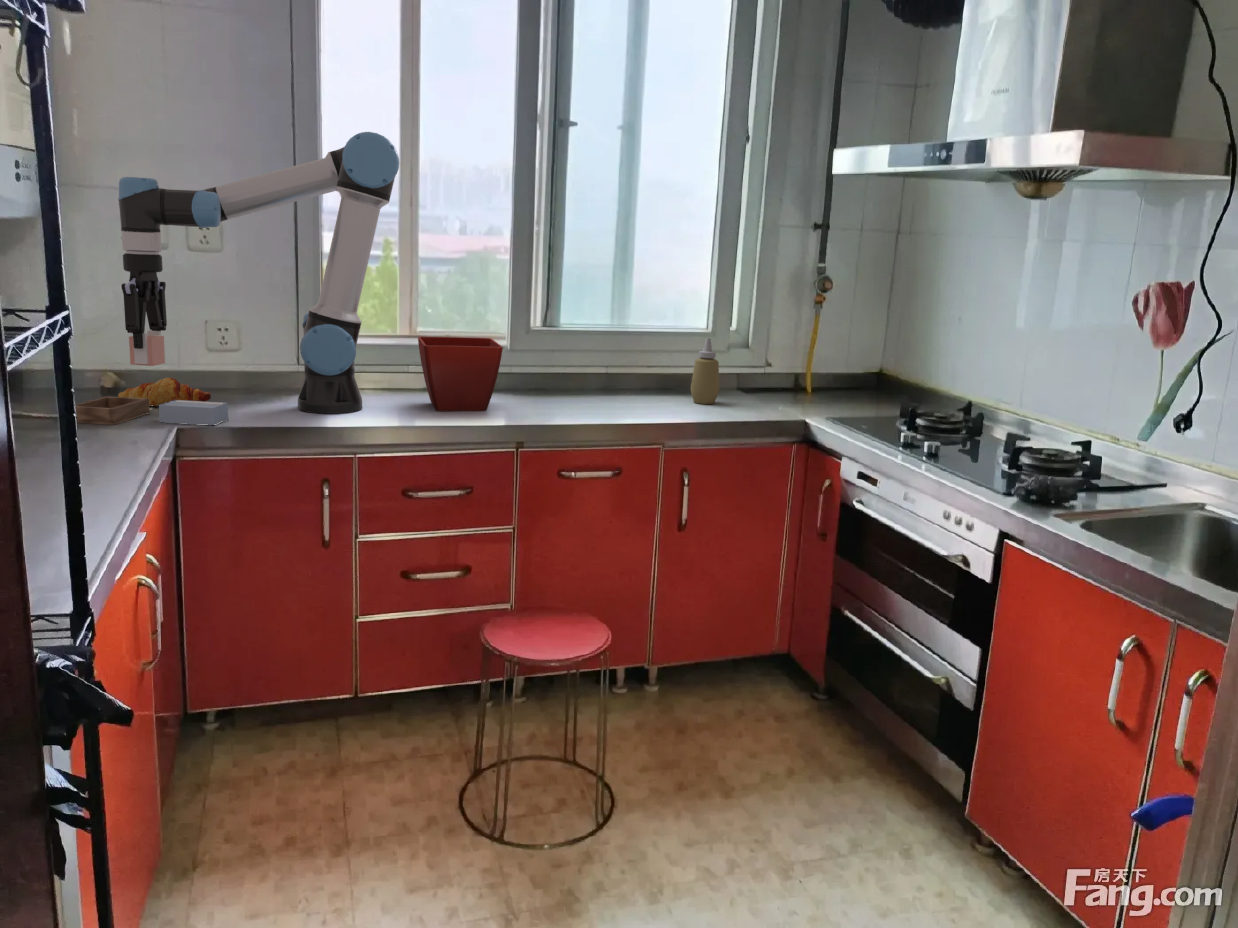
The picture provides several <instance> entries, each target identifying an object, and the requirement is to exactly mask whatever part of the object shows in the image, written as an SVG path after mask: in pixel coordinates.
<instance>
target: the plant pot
mask: <svg viewBox="0 0 1238 928" xmlns="http://www.w3.org/2000/svg"><path fill="white" fill-rule="evenodd" d="M417 342H418V343H417V344H418V349H419V357H420V358H419V359H420V363H421V369H422V373H423V377H424V383H425V386H426V390H427V394H428V396H429V400H430V403H431V405H432V407H433V408H434V410H435V411H437V412H438V411H439V412H485V411H487V410H488V407H489V405H490V402H491V399H492V397H493V392H494V390H495V386H496V383H497V379H498V375H499V370H500V366H501V365H500V364H501V361H502V355H503V351H504V350H503V349H504V348H503V346H502V345H501V344H500V343H498V342H497V341H495V340H494V339H493V338H490V337H489V338H488V337H458V336H457V337H456V336H418V337H417Z"/></svg>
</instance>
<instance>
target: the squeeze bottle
mask: <svg viewBox="0 0 1238 928" xmlns="http://www.w3.org/2000/svg"><path fill="white" fill-rule="evenodd" d="M711 340H712V339H711V338H705V342H704V346H703V348H702V350H699V351H698V357H699V358H697V359H695V360H694V364H693V372H692V377H691V384H690V392H691V397H692V400H693V401H692V402H694V403H696V404H700V405H712V404H715V403H716V400H717V398H718V395H719V392H720V371H719V370H720V369H719V363H720V362H719V361H718V359H716V355H717V354H716V353H717V352H716V351H713V346H712V341H711Z"/></svg>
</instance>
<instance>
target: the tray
mask: <svg viewBox="0 0 1238 928" xmlns="http://www.w3.org/2000/svg"><path fill="white" fill-rule="evenodd" d="M75 405H76V412H77V424H89V425H91V424H92V425H93V424H94V425H108V426H109V425H111V426H115V425H119V424H121V423H125V422H128V421H131V419H132V420H135V419H137V418H136V417H138V416H141V415H143V414H146V413H151V412H150V411H151V410H150V407H149V399H142V398H125V397H118V396H107V395H106V396H103V397H98V398H96V399H92V400H88V401H87V400H86V401H84V402H80V403H76V404H75ZM141 417H142V416H141ZM134 418H135V419H134ZM138 418H139V417H138ZM124 421H125V422H124Z"/></svg>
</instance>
